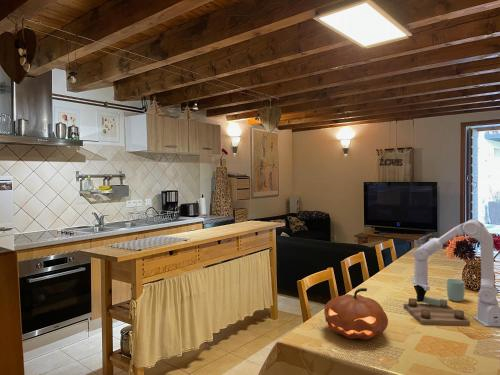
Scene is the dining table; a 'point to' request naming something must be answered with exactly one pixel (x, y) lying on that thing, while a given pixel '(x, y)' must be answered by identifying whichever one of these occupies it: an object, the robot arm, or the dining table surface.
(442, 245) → the robot arm
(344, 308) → the pumpkin
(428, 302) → the swing leg
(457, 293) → the cup
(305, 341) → the dining table surface
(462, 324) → the stool seat
